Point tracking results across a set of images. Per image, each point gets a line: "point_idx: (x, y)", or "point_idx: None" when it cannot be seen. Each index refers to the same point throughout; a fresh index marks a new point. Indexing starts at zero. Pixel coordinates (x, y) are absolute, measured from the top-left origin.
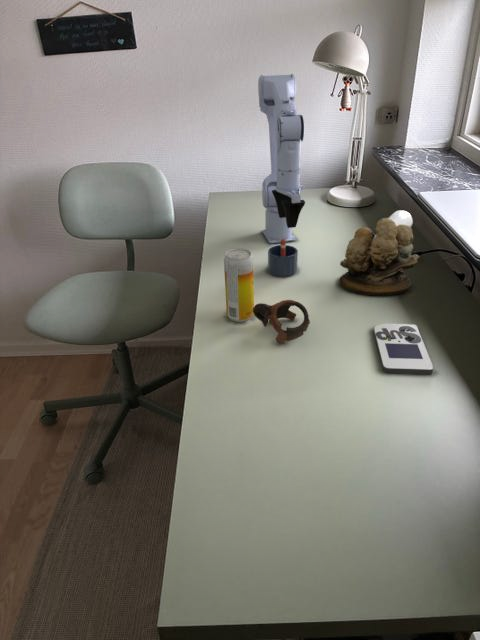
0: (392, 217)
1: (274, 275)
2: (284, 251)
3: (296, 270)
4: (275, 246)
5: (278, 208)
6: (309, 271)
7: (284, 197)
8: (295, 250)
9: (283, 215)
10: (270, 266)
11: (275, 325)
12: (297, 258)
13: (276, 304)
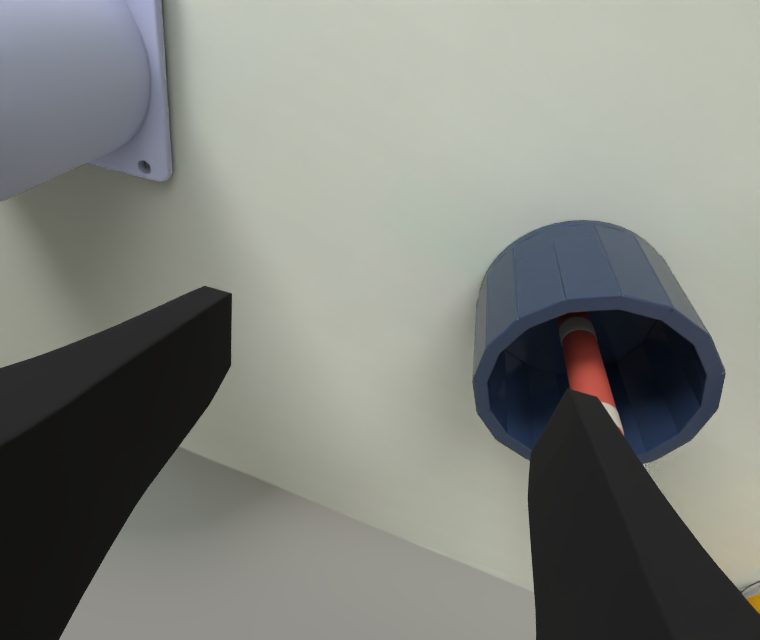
0: None
1: None
2: (612, 396)
3: (664, 260)
4: (486, 393)
5: (161, 461)
6: (715, 161)
7: (29, 554)
8: (649, 315)
9: (217, 349)
10: None
11: None
12: (657, 273)
13: None
